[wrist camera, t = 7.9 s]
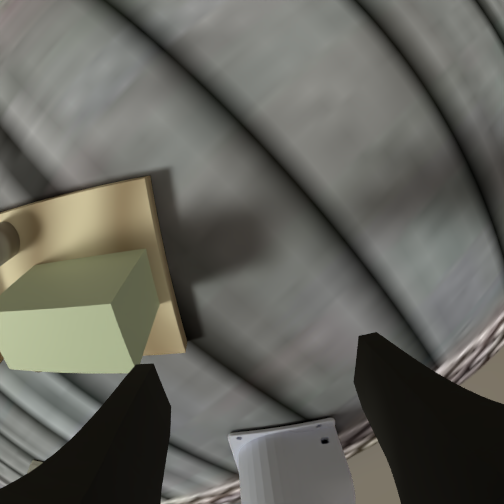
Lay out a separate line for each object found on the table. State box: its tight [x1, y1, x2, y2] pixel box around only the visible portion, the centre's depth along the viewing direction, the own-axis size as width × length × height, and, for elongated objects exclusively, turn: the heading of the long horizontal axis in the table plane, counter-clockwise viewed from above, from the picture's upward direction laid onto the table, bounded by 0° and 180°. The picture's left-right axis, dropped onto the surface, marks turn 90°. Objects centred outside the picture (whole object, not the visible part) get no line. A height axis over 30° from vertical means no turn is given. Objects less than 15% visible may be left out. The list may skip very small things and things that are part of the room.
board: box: [0, 175, 187, 372], centre depth 16 cm, size 16×11×4 cm
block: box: [0, 248, 160, 373], centre depth 14 cm, size 8×4×6 cm, turn 96°
